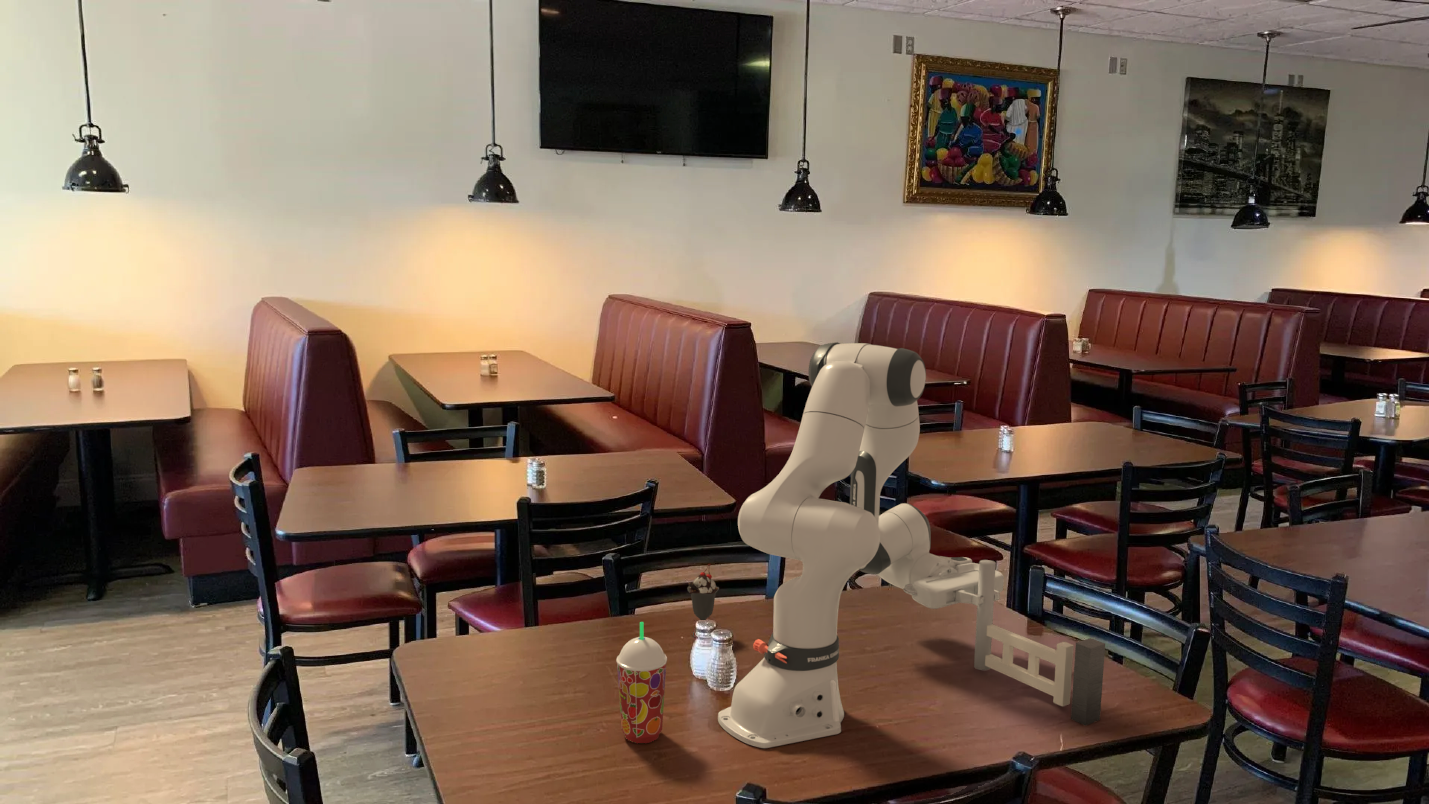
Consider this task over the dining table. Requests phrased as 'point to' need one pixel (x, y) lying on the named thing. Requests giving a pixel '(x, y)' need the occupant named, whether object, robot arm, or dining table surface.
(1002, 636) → the gate
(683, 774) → the dining table surface
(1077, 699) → the hinge post
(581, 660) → the dining table surface
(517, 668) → the dining table surface
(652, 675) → the smoothie
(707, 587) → the sundae
